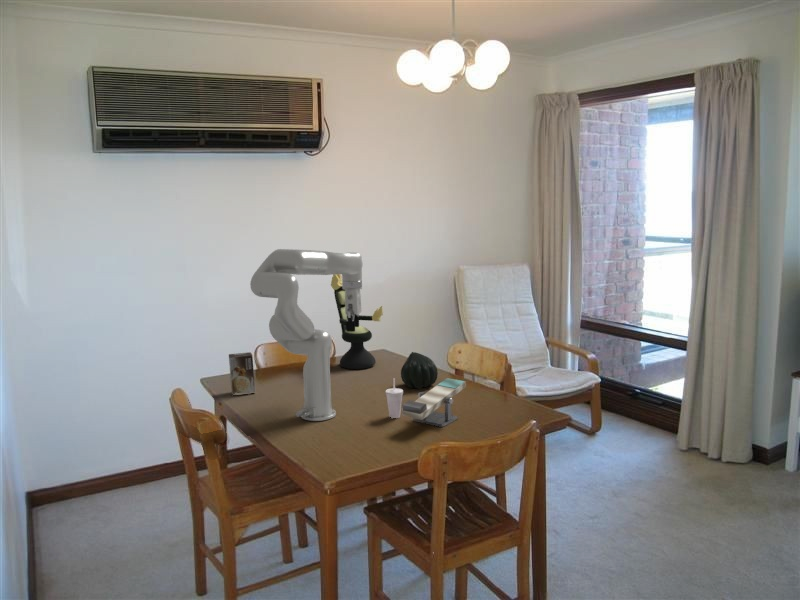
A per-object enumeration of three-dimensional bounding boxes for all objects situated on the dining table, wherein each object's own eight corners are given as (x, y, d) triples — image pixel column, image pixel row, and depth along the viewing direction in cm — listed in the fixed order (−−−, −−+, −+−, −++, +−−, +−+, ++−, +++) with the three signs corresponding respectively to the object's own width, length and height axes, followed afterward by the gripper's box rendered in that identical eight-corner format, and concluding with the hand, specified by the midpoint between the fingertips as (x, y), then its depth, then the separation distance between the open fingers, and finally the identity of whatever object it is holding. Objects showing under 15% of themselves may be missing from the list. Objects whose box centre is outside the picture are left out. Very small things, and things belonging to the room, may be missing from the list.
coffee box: (253, 389, 274) (251, 351, 271) (255, 394, 268) (253, 355, 265) (230, 392, 271) (228, 353, 268) (232, 396, 265) (229, 357, 262)
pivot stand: (444, 427, 225) (444, 402, 224) (411, 420, 233) (410, 395, 231) (459, 419, 233) (459, 394, 232) (427, 412, 241) (426, 388, 239)
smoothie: (403, 413, 240) (402, 376, 238) (404, 419, 234) (403, 381, 232) (385, 414, 240) (384, 376, 238) (386, 420, 234) (385, 381, 232)
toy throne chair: (358, 373, 296) (355, 272, 288) (322, 366, 309) (318, 270, 302) (385, 364, 310) (382, 268, 303) (349, 357, 324) (346, 265, 317)
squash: (447, 376, 268) (432, 344, 275) (415, 383, 261) (401, 350, 268) (434, 391, 279) (420, 361, 286) (403, 399, 272) (390, 367, 278)
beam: (422, 419, 218) (420, 408, 217) (402, 415, 223) (401, 404, 222) (466, 386, 241) (465, 376, 240) (447, 383, 245) (446, 373, 244)
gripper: (358, 287, 245) (359, 333, 247) (365, 282, 262) (365, 325, 265) (338, 287, 246) (339, 333, 248) (346, 282, 263) (347, 325, 265)
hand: (352, 329), depth 256 cm, fingers open, 9 cm apart
